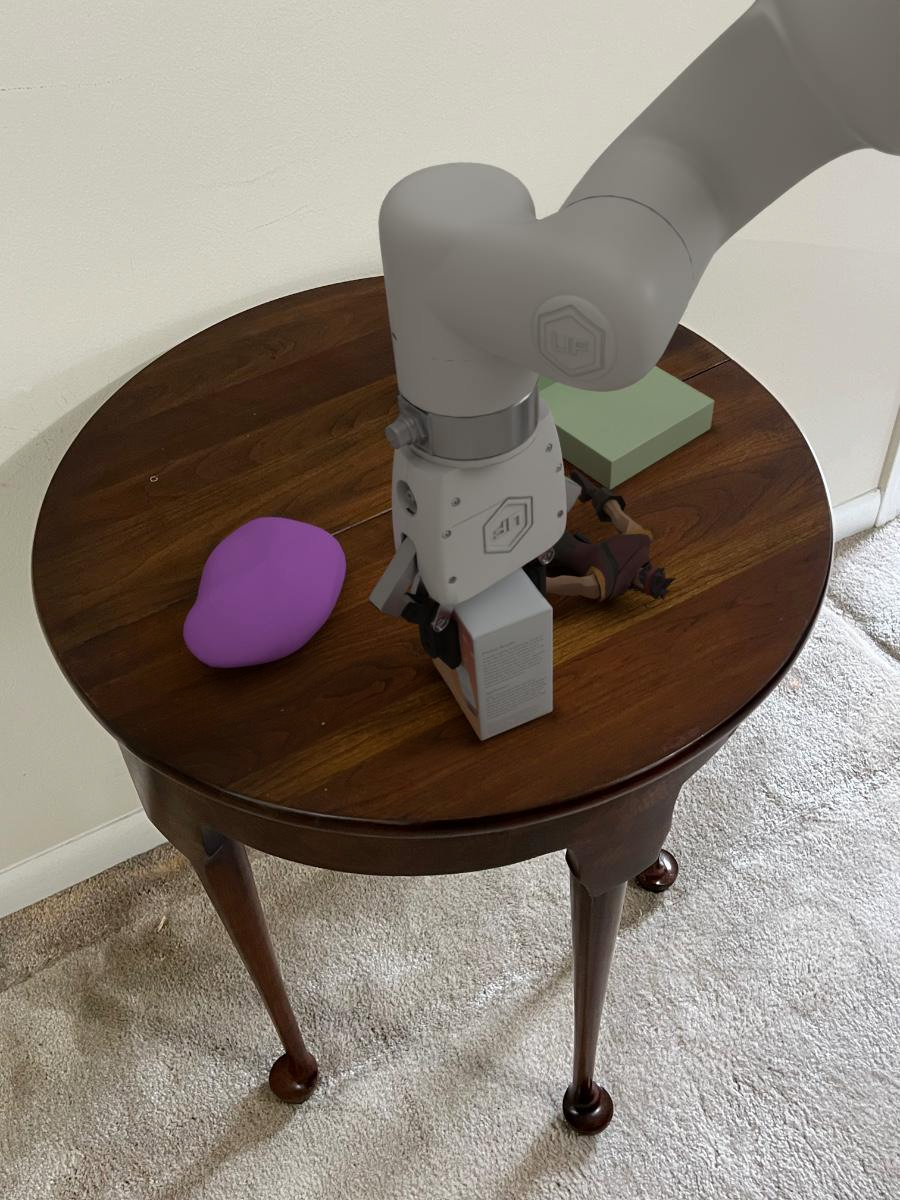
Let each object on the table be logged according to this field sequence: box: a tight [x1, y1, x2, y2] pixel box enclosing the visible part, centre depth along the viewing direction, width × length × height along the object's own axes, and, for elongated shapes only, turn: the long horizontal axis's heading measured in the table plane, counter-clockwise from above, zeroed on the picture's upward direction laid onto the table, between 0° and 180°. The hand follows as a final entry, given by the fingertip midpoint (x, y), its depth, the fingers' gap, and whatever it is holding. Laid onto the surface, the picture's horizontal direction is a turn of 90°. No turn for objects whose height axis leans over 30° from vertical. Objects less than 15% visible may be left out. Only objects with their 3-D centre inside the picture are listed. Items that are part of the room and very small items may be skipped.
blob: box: [182, 516, 347, 669], centre depth 82 cm, size 14×11×5 cm
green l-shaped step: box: [539, 365, 715, 491], centre depth 95 cm, size 16×12×10 cm
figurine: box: [546, 468, 676, 602], centre depth 85 cm, size 15×4×20 cm
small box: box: [429, 567, 554, 742], centre depth 74 cm, size 8×6×10 cm
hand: (485, 626), depth 73 cm, fingers closed on small box, 6 cm apart
